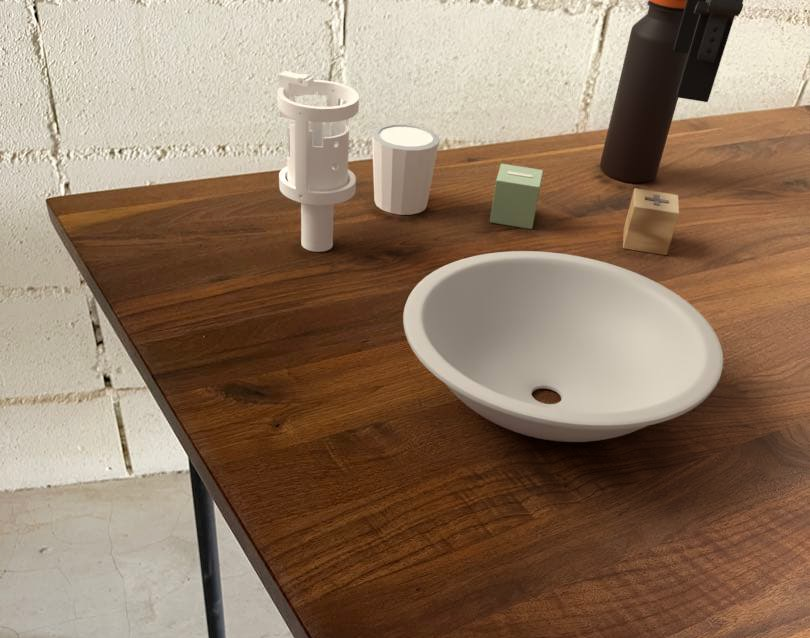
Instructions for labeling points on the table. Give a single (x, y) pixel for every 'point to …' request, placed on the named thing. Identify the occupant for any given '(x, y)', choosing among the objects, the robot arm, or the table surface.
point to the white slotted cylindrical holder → (317, 153)
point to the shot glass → (403, 167)
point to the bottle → (645, 95)
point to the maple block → (651, 221)
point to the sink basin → (562, 344)
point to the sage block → (516, 196)
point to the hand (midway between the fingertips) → (689, 74)
